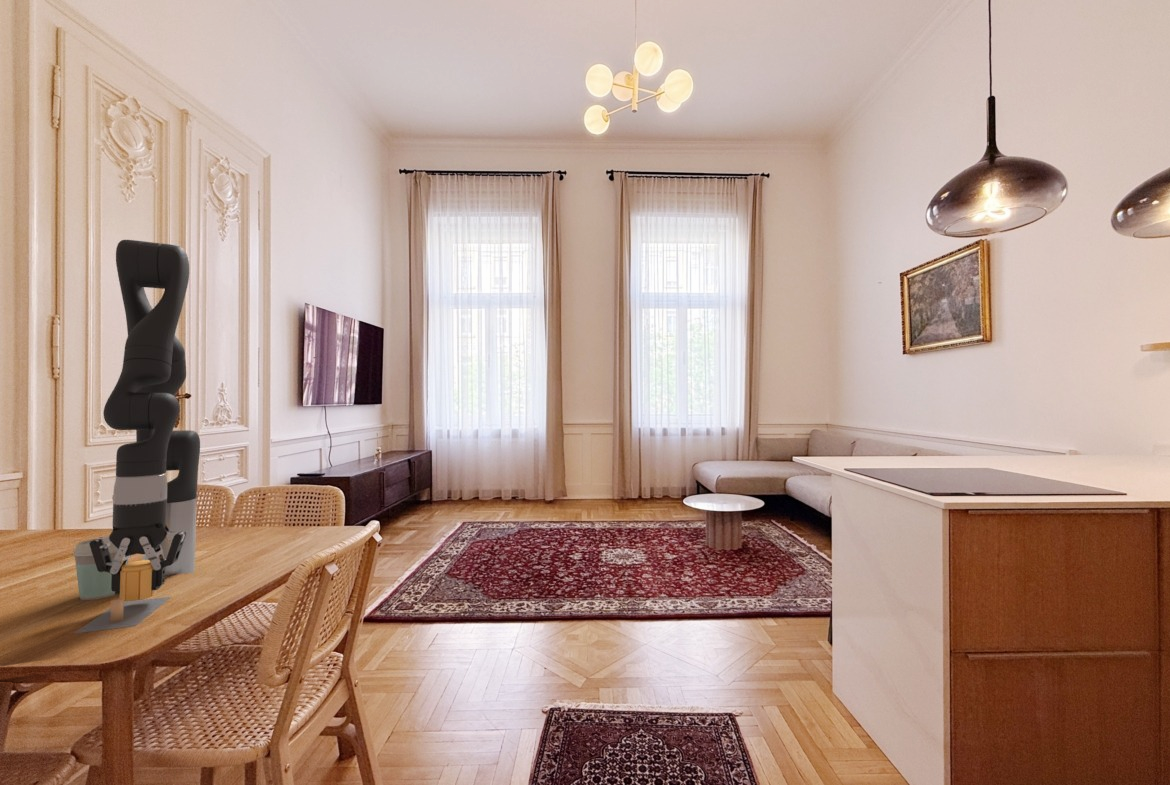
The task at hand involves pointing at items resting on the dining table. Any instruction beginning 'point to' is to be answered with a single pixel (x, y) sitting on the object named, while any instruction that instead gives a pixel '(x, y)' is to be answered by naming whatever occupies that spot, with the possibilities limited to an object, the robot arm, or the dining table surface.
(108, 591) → the coffee cup
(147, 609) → the board
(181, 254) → the robot arm
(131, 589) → the wire nut
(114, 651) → the dining table surface
